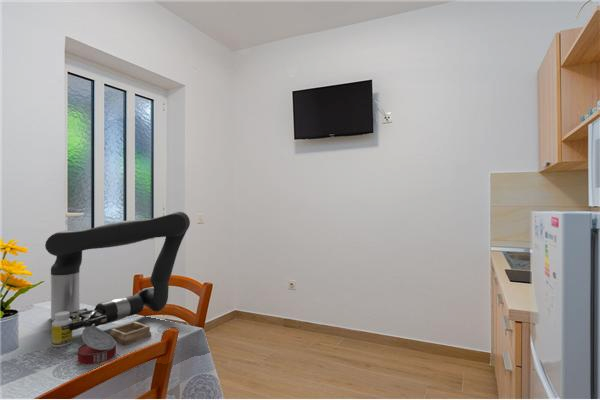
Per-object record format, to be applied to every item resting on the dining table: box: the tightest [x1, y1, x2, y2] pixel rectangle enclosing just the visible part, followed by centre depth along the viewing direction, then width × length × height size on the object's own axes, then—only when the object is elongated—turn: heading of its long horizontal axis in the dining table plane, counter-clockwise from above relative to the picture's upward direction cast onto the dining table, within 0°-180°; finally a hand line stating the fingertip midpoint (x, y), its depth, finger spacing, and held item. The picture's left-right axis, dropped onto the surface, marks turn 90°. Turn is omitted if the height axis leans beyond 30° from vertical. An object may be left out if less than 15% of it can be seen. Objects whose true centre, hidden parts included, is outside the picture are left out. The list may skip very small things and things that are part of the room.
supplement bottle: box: [51, 311, 73, 348], centre depth 113 cm, size 5×5×10 cm
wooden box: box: [109, 320, 152, 346], centre depth 118 cm, size 9×9×3 cm
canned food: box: [77, 326, 117, 365], centre depth 105 cm, size 11×10×10 cm
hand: (63, 324), depth 113 cm, fingers open, 8 cm apart
